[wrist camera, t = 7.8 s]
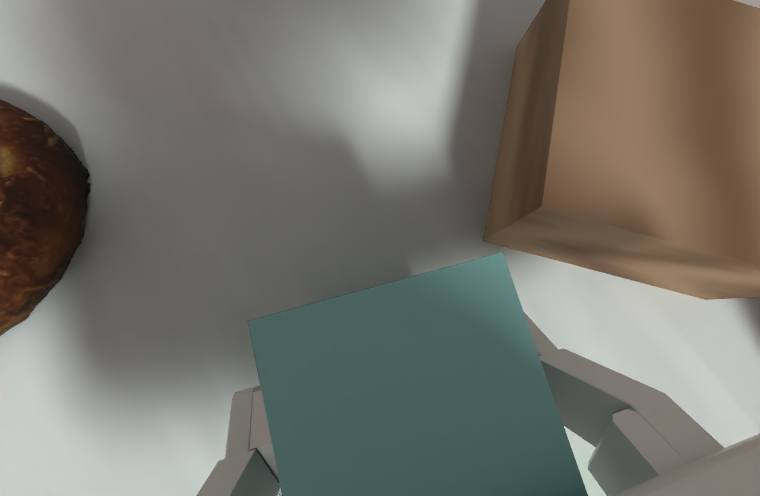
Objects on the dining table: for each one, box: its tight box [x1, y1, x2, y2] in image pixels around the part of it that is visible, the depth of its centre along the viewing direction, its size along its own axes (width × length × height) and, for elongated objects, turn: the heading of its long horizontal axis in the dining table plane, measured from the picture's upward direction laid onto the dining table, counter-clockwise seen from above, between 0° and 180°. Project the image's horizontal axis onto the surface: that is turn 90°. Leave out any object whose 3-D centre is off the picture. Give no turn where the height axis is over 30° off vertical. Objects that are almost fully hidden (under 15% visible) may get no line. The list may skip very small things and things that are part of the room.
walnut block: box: [483, 0, 760, 300], centre depth 15 cm, size 11×11×5 cm
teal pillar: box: [248, 252, 588, 496], centre depth 10 cm, size 5×5×8 cm
